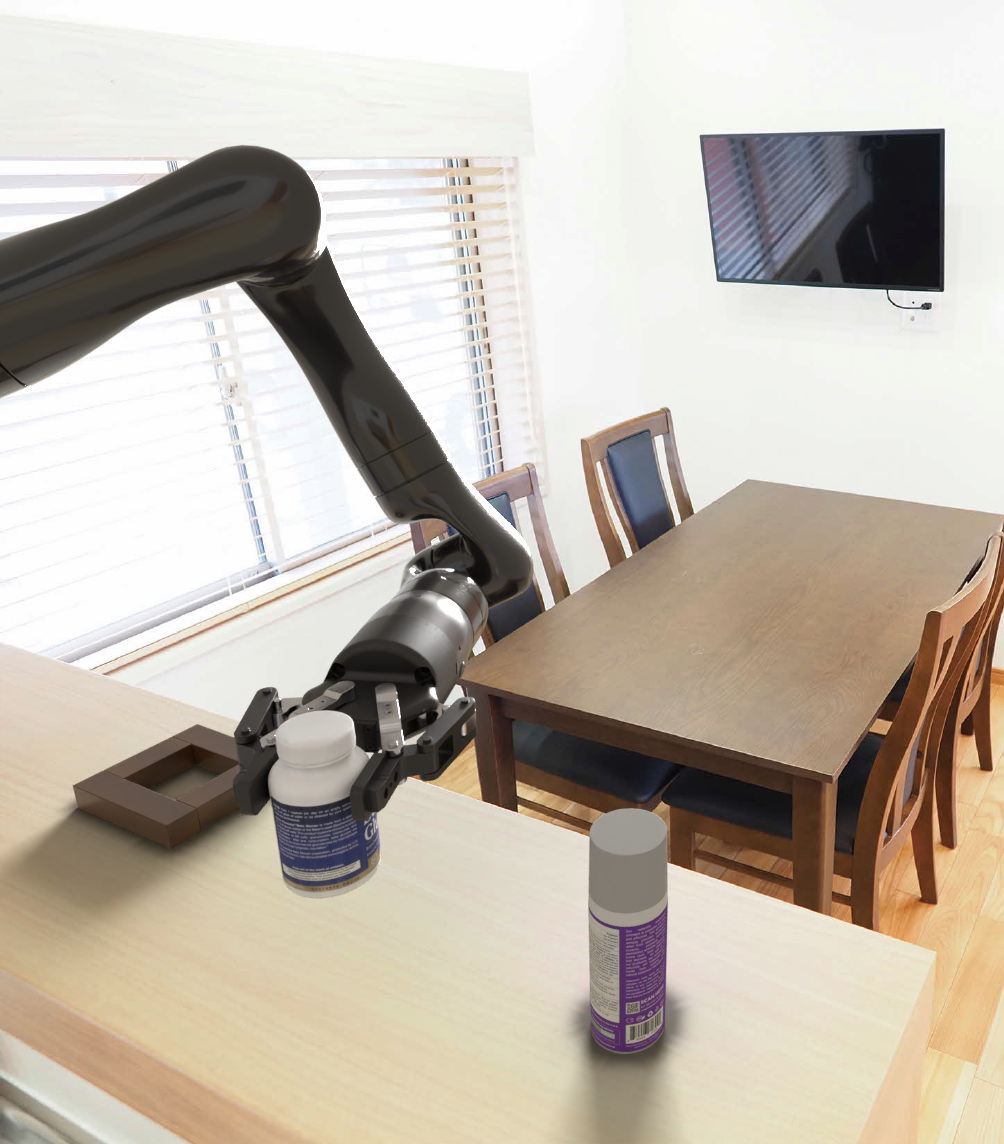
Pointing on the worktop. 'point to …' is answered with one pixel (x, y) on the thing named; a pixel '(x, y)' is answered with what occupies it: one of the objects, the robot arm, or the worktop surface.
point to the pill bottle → (321, 807)
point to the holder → (129, 782)
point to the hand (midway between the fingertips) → (302, 804)
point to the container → (627, 929)
